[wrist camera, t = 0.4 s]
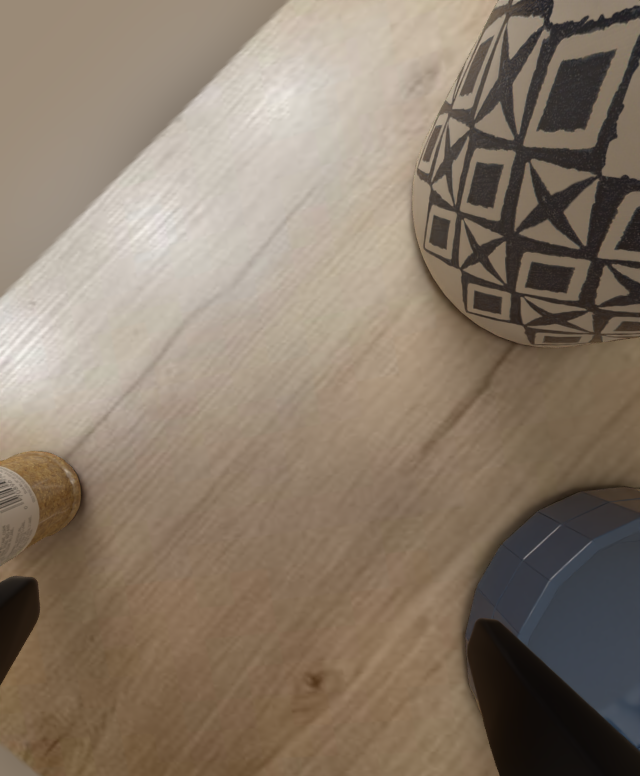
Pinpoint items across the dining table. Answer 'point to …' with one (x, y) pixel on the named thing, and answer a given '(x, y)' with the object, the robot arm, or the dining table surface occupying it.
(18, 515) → the sprinkles bottle
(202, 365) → the dining table surface
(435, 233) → the planter
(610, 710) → the bowl
